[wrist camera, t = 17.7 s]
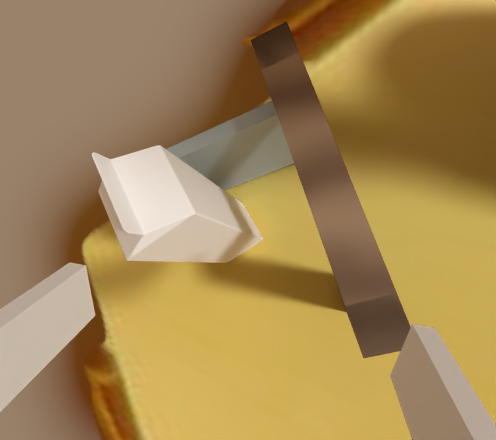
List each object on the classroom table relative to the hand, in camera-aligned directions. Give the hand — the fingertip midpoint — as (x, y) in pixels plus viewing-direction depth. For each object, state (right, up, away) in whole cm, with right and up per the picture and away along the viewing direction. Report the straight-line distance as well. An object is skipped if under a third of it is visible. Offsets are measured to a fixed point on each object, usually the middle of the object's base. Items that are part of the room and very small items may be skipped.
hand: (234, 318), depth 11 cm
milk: (-1, +2, +25) cm, 26 cm away
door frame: (+10, +5, +22) cm, 25 cm away
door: (0, +11, +26) cm, 28 cm away
